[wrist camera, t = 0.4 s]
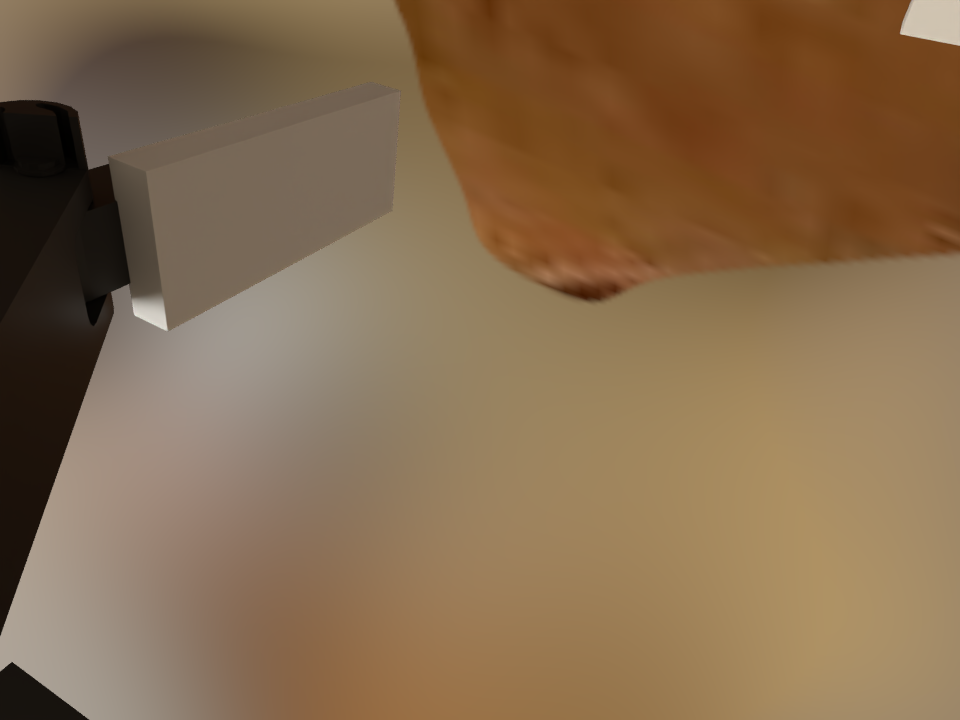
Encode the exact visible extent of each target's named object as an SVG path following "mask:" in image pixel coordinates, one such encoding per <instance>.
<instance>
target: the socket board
mask: <svg viewBox="0 0 960 720" xmlns="http://www.w3.org/2000/svg"><path fill="white" fill-rule="evenodd" d="M900 34H903V35H908V36H913V37H918V38H924V39H929V40H934V41H939V42H944V43H949V44H954V45H959V46H960V0H911V3H910V5H909V8H908V10H907V12H906V15H905V17H904V20H903V22H902V27H901V31H900Z"/></svg>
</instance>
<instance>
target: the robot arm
mask: <svg viewBox="0 0 960 720" xmlns="http://www.w3.org/2000/svg"><path fill="white" fill-rule="evenodd" d="M400 94H401V91H400V90H397V89H393V88H390V87H386V86H383V85H380V84H377V83H374V82H369V83H365V84H361V85H358V86H354V87H351V88H347V89H344V90H340V91H337V92H333V93H330V94H326V95H323V96H320V97H316V98H312V99H309V100H305V101H302V102H298V103H295V104H291V105H288V106H284V107H281V108H277V109H273V110H270V111H266V112H263V113H260V114H256V115H252V116H249V117H246V118H242V119H238V120H235V121H231V122H228V123H224V124H221V125H217V126H214V127H210V128H207V129H203V130H200V131H196V132H193V133H189V134H186V135H182V136H179V137H175V138H171V139H168V140H164V141H161V142H157V143H154V144H151V145H147V146H143V147H140V148H136V149H133V150H129V151H126V152H123V153H119V154H116V155H112V156H108V160H109V164H107V165H103V166H100V167H96V168H93V169H90V170H88V165H87V159H86V155H85V148H84V143H83V138H82V132H81V127H80V121H79V116H78V111H76V110H75V109H73V108H72V107H70V106H67V105H64V104H60V103H56V102H48V101H40V100H18V101H7V102H0V635H1V632H2V629H3V627H4V624H5V621H6V618H7V615H8V612H9V610H10V606H11V604H12V601H13V598H14V595H15V593H16V589H17V587H18V584H19V581H20V578H21V575H22V573H23V570H24V567H25V564H26V561H27V558H28V556H29V553H30V550H31V547H32V544H33V541H34V538H35V536H36V533H37V530H38V527H39V524H40V521H41V519H42V516H43V513H44V510H45V507H46V504H47V502H48V499H49V496H50V493H51V490H52V487H53V485H54V482H55V479H56V476H57V473H58V470H59V467H60V464H61V462H62V459H63V456H64V453H65V450H66V448H67V445H68V442H69V439H70V436H71V433H72V430H73V428H74V425H75V422H76V419H77V416H78V413H79V410H80V408H81V405H82V402H83V399H84V396H85V393H86V390H87V388H88V385H89V382H90V379H91V376H92V374H93V371H94V368H95V365H96V362H97V359H98V357H99V354H100V351H101V348H102V345H103V342H104V340H105V337H106V334H107V331H108V328H109V325H110V322H111V320H112V317H113V314H114V306H113V300H112V295H111V292H112V291H114V290H116V289H119V288H121V287H123V286H125V285H127V284H129V286H130V292H131V298H132V304H133V311H134V315H135V316H137V317H139V318H141V319H143V320H145V321H147V322H149V323H151V324H153V325H155V326H157V327H159V328H162V329H164V330H166V331H170V330H172V329H173V328H175V327H177V326H179V325H180V324H182V323H184V322H186V321H188V320H190V319H192V318H194V317H196V316H198V315H199V314H201V313H203V312H205V311H207V310H209V309H210V308H212V307H214V306H216V305H218V304H220V303H222V302H223V301H225V300H227V299H229V298H231V297H233V296H235V295H237V294H238V293H240V292H242V291H244V290H246V289H248V288H249V287H251V286H253V285H255V284H257V283H259V282H261V281H262V280H264V279H266V278H268V277H270V276H272V275H274V274H276V273H277V272H279V271H281V270H283V269H285V268H287V267H288V266H290V265H292V264H294V263H296V262H298V261H300V260H302V259H303V258H305V257H307V256H309V255H311V254H313V253H315V252H316V251H318V250H320V249H322V248H324V247H325V246H328V245H329V244H331V243H333V242H335V241H337V240H339V239H341V238H342V237H344V236H346V235H348V234H350V233H352V232H354V231H355V230H357V229H359V228H361V227H363V226H365V225H367V224H368V223H370V222H372V221H374V220H376V219H378V218H380V217H381V216H383V215H385V214H387V213H389V212H391V211H392V207H393V194H394V180H395V165H396V151H397V137H398V123H399V122H398V121H399V109H400ZM0 720H89V719H87V718H86V717H85V716H83V715H82V714H81V713H79V712H78V711H77V710H75V709H74V708H73V707H71V706H70V705H69V704H67V703H66V702H65V701H63V700H62V699H61V698H59V697H58V696H56V695H55V694H54V693H53V692H51V691H50V690H49V689H47V688H46V687H45V686H43V685H42V684H41V683H39V682H38V681H37V680H35V679H34V678H33V677H31V676H30V675H29V674H27V673H26V672H25V671H23V670H22V669H21V668H19V667H18V666H17V665H15V664H14V663H13V662H12V663H10V664H9V665H8V666H7V667H5V668H4V669H3V670H2V671H0Z"/></svg>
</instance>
